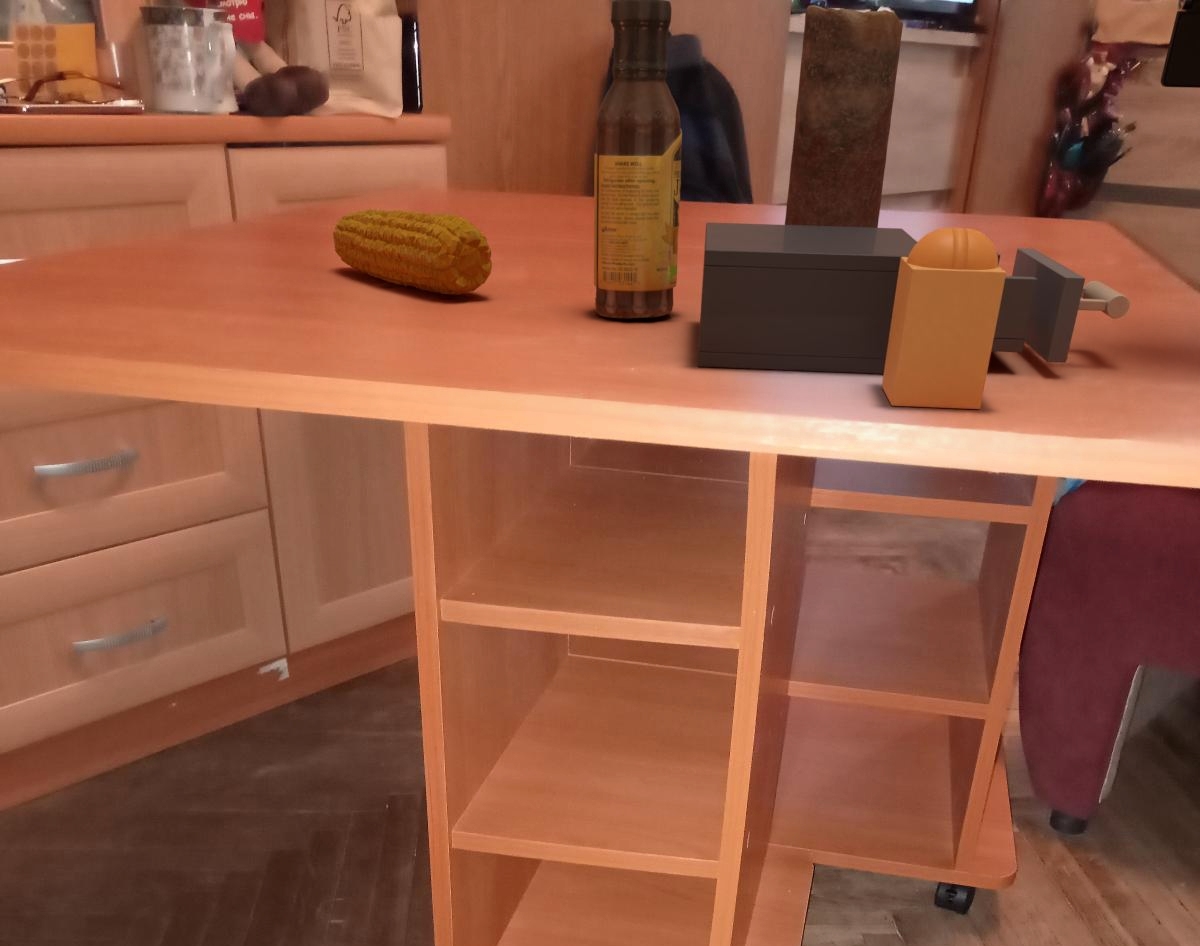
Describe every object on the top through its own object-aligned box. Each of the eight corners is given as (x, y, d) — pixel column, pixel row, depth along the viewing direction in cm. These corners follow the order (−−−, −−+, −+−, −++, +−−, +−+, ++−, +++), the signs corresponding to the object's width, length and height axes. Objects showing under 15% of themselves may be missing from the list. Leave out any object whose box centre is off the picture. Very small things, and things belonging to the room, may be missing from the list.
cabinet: (887, 331, 84) (902, 228, 81) (916, 375, 72) (935, 257, 69) (699, 324, 85) (706, 222, 82) (697, 366, 73) (705, 249, 70)
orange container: (965, 390, 69) (996, 224, 64) (980, 409, 65) (1014, 234, 61) (881, 387, 70) (905, 221, 65) (891, 405, 66) (918, 231, 61)
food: (504, 298, 93) (502, 216, 89) (446, 306, 90) (441, 221, 86) (366, 265, 106) (360, 192, 103) (311, 270, 103) (303, 195, 99)
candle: (793, 292, 98) (822, 8, 87) (878, 300, 95) (919, 8, 84) (764, 306, 92) (791, 3, 81) (853, 315, 90) (893, 3, 79)
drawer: (1078, 325, 83) (1096, 250, 80) (1134, 365, 72) (1157, 280, 69) (843, 317, 84) (852, 242, 81) (863, 355, 73) (874, 270, 70)
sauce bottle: (687, 320, 86) (705, -3, 76) (609, 324, 84) (617, -6, 74) (654, 305, 91) (667, 1, 81) (580, 309, 89) (583, -2, 79)
